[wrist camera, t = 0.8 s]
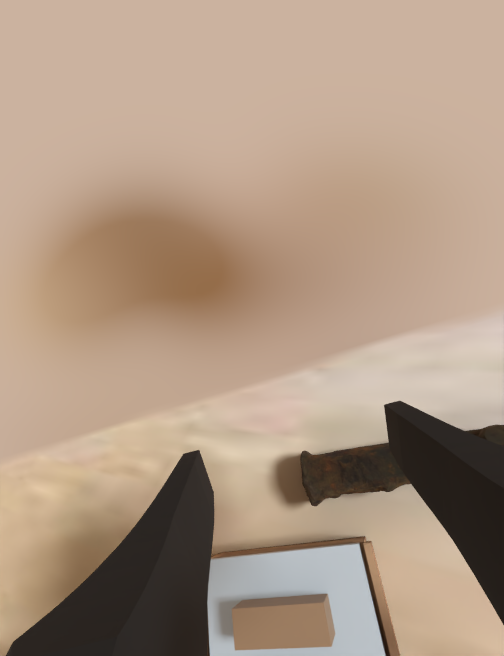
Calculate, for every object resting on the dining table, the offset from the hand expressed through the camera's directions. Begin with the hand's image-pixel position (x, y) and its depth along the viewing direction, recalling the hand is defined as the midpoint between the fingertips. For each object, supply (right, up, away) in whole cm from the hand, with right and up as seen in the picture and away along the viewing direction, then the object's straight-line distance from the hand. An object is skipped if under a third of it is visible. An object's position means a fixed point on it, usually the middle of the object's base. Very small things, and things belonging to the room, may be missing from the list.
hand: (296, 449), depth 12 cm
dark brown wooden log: (+12, -6, +14) cm, 19 cm away
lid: (+1, -16, +9) cm, 19 cm away
